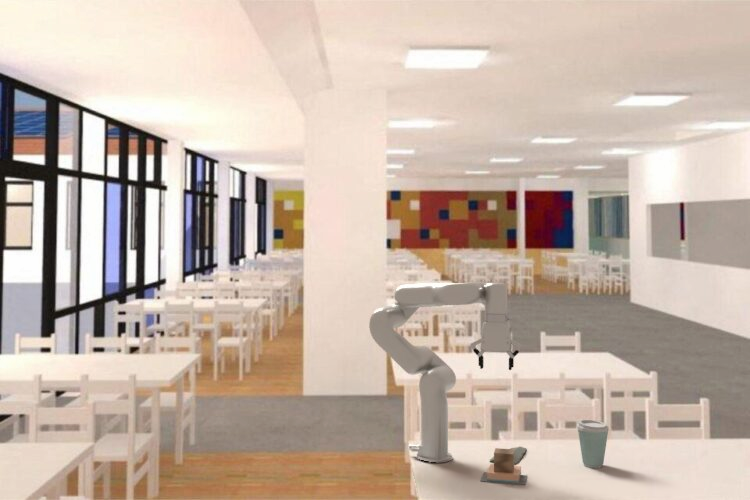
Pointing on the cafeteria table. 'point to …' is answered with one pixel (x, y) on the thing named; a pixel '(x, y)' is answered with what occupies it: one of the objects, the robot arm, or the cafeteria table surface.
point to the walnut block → (504, 460)
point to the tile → (504, 475)
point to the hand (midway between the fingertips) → (495, 368)
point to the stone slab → (515, 454)
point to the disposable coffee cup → (592, 442)
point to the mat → (521, 482)
